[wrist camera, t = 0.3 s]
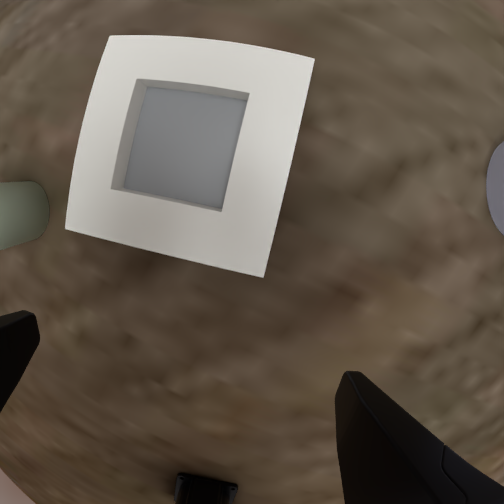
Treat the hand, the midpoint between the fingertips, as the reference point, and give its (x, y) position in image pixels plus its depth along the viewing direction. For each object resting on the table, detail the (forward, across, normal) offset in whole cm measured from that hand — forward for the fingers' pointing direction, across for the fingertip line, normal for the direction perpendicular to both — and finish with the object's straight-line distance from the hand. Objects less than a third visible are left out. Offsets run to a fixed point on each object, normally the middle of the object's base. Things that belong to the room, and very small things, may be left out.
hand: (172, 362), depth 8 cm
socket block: (+15, +4, -5) cm, 16 cm away
